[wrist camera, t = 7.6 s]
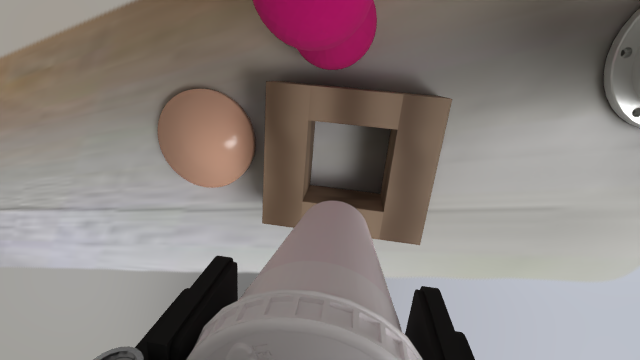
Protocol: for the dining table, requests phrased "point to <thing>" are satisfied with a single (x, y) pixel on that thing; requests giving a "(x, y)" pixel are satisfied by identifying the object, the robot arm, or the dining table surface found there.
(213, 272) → the robot arm
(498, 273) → the dining table surface
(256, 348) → the smoothie
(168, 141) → the tan round disc
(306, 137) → the bottle holder
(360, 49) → the pepper mill
